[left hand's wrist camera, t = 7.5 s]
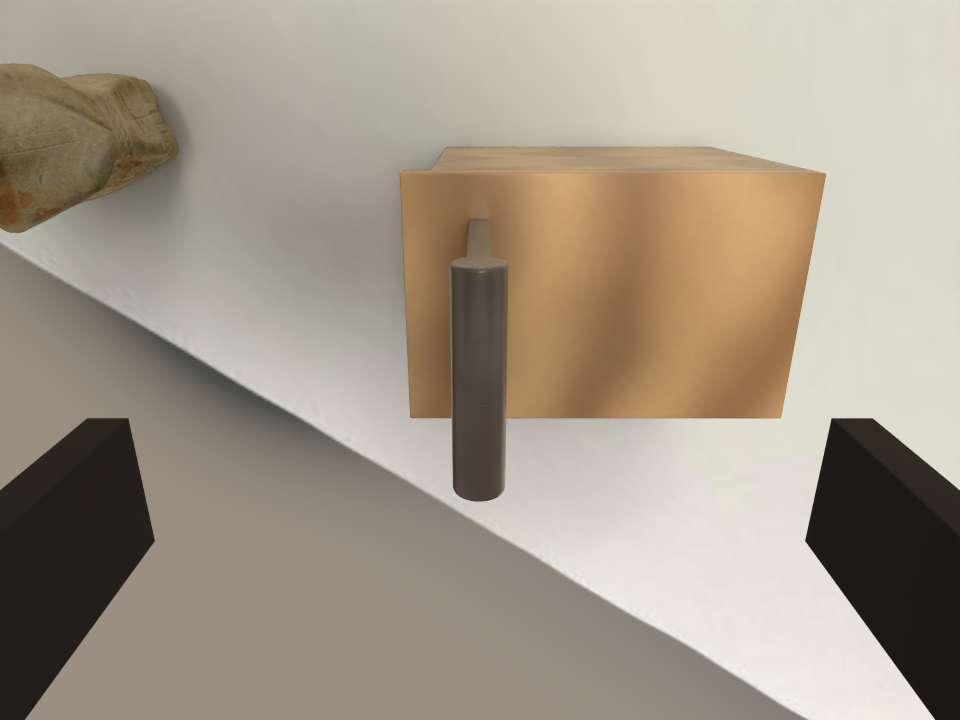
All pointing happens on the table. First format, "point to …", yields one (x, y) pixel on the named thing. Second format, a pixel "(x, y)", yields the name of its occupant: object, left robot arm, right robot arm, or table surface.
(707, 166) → the chest
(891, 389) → the table surface
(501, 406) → the lid
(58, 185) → the sculpture
